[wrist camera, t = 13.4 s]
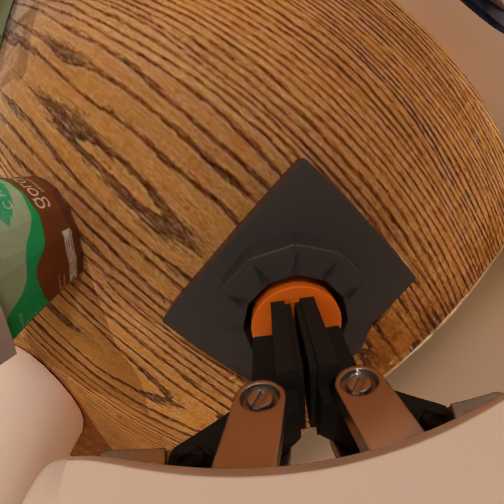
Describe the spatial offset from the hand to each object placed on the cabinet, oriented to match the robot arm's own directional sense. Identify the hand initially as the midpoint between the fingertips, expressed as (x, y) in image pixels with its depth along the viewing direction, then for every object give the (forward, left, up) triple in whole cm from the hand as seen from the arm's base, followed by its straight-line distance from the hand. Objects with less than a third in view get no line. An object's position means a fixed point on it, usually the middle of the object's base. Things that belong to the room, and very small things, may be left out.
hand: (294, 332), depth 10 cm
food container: (+15, -7, -4) cm, 17 cm away
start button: (0, 0, -2) cm, 2 cm away
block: (0, 0, -4) cm, 4 cm away
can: (+26, +10, -4) cm, 28 cm away
